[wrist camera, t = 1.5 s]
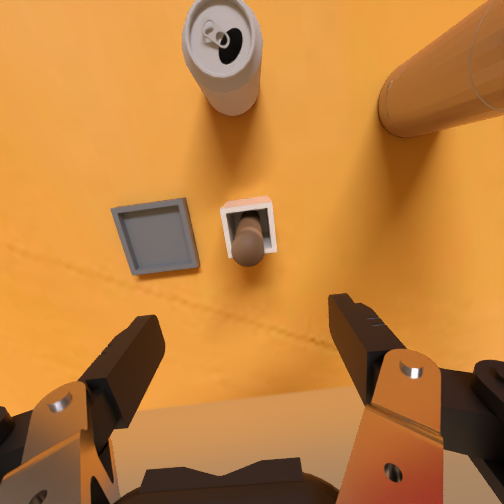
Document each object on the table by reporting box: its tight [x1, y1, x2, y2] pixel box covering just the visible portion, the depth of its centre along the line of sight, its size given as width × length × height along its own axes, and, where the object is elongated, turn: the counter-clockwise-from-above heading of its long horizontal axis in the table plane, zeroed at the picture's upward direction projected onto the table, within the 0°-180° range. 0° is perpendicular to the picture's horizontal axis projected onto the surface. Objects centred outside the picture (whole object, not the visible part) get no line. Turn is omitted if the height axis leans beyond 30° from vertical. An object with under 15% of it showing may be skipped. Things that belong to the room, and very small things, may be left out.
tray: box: [111, 198, 200, 275], centre depth 37 cm, size 11×11×2 cm
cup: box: [220, 196, 277, 258], centre depth 32 cm, size 6×6×9 cm
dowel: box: [231, 210, 265, 267], centre depth 28 cm, size 3×3×16 cm
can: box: [182, 0, 263, 116], centre depth 25 cm, size 8×8×12 cm
